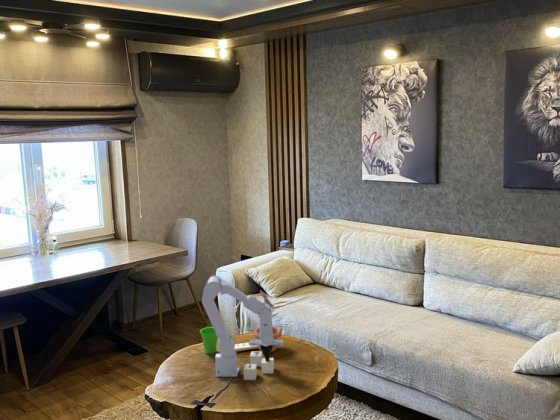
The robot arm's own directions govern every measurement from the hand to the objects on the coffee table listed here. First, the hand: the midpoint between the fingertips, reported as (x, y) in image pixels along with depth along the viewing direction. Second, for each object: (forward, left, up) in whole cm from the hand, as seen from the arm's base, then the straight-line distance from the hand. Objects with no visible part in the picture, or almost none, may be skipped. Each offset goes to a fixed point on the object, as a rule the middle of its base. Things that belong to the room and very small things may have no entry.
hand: (267, 360), depth 252 cm
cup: (-30, +20, -5) cm, 36 cm away
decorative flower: (-2, +22, -5) cm, 23 cm away
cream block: (0, 0, -5) cm, 5 cm away
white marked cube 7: (-6, +7, -5) cm, 10 cm away
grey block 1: (-7, -6, -5) cm, 11 cm away
